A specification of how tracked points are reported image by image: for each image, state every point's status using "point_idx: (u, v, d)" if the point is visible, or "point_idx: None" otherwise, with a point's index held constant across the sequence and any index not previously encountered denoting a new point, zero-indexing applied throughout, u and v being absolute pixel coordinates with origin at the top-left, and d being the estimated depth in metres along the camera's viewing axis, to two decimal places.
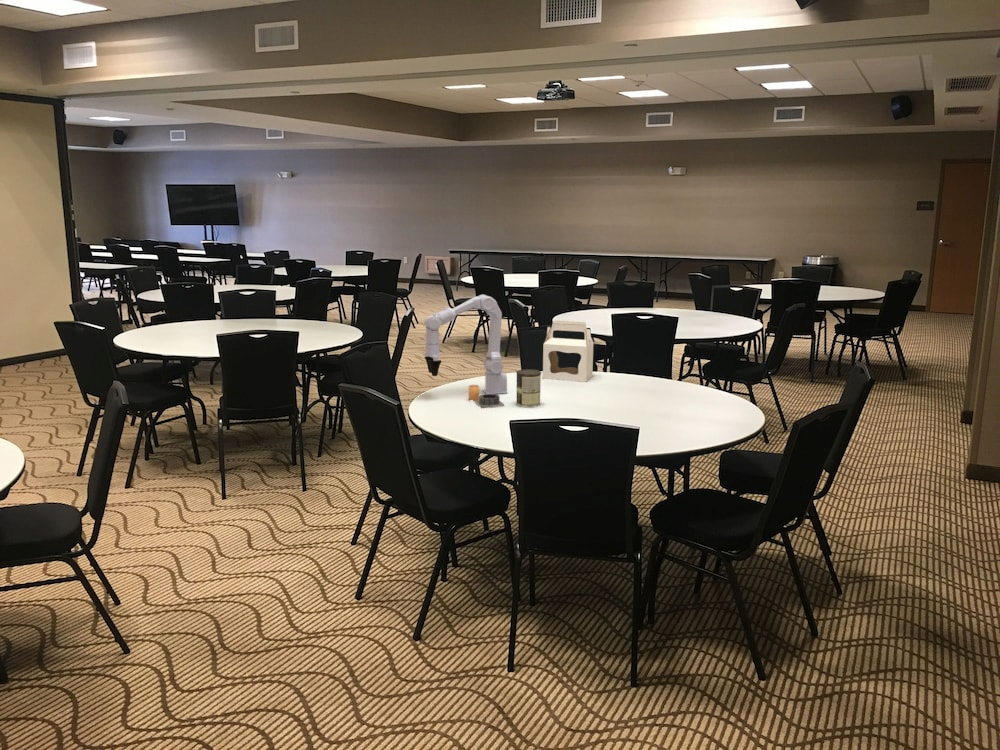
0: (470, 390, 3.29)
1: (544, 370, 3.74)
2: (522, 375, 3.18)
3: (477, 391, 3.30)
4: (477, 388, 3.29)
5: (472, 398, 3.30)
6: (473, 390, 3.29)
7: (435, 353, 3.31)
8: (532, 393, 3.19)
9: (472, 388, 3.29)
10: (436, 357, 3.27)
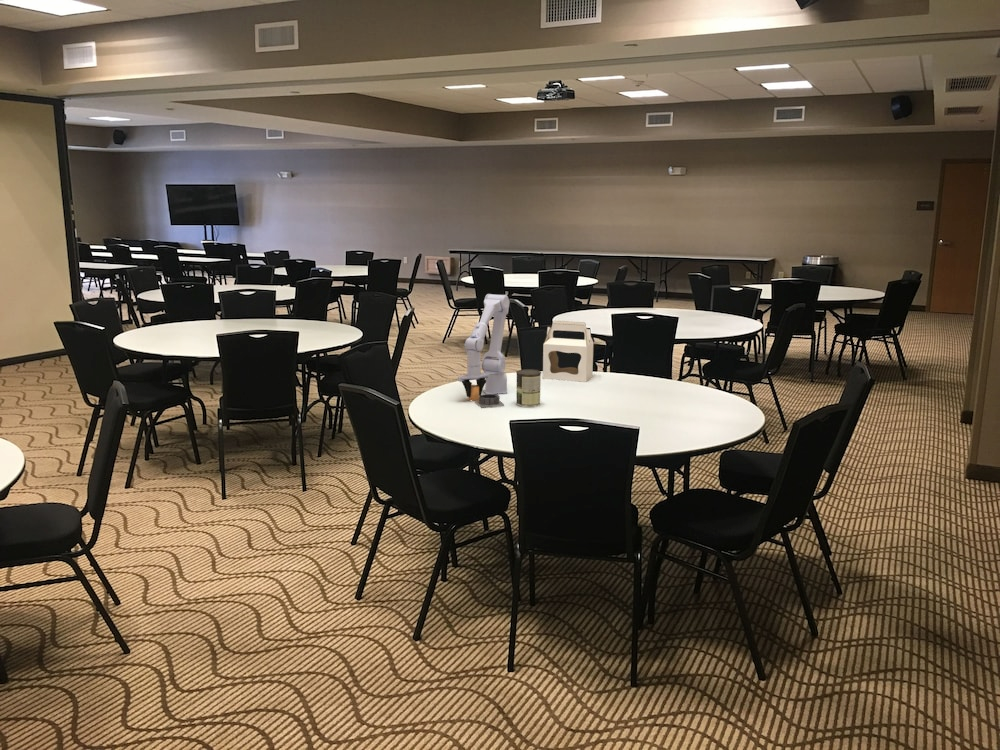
0: None
1: (544, 370, 3.74)
2: (522, 375, 3.18)
3: (477, 391, 3.30)
4: (477, 388, 3.29)
5: (472, 398, 3.30)
6: (473, 390, 3.29)
7: (469, 375, 3.28)
8: (532, 393, 3.19)
9: (472, 388, 3.29)
10: (459, 378, 3.26)
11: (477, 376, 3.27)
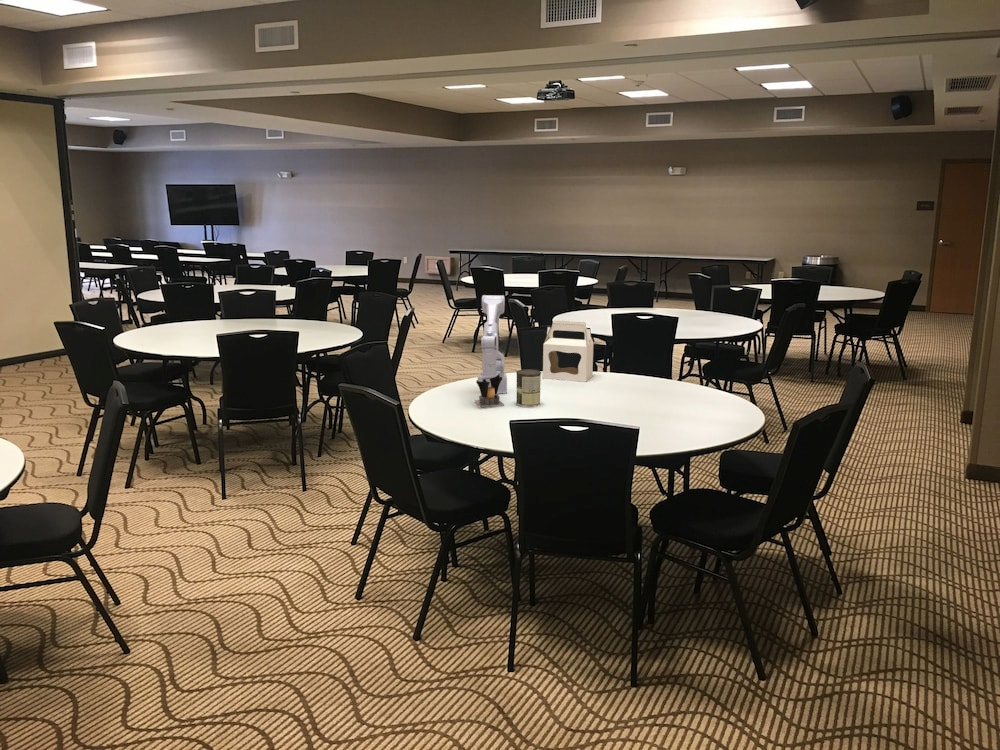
0: (487, 392, 3.21)
1: (544, 370, 3.74)
2: (522, 375, 3.18)
3: (494, 393, 3.22)
4: (494, 390, 3.22)
5: None
6: (491, 392, 3.21)
7: (487, 374, 3.18)
8: (532, 393, 3.19)
9: (490, 390, 3.20)
10: (479, 378, 3.15)
11: (495, 374, 3.20)
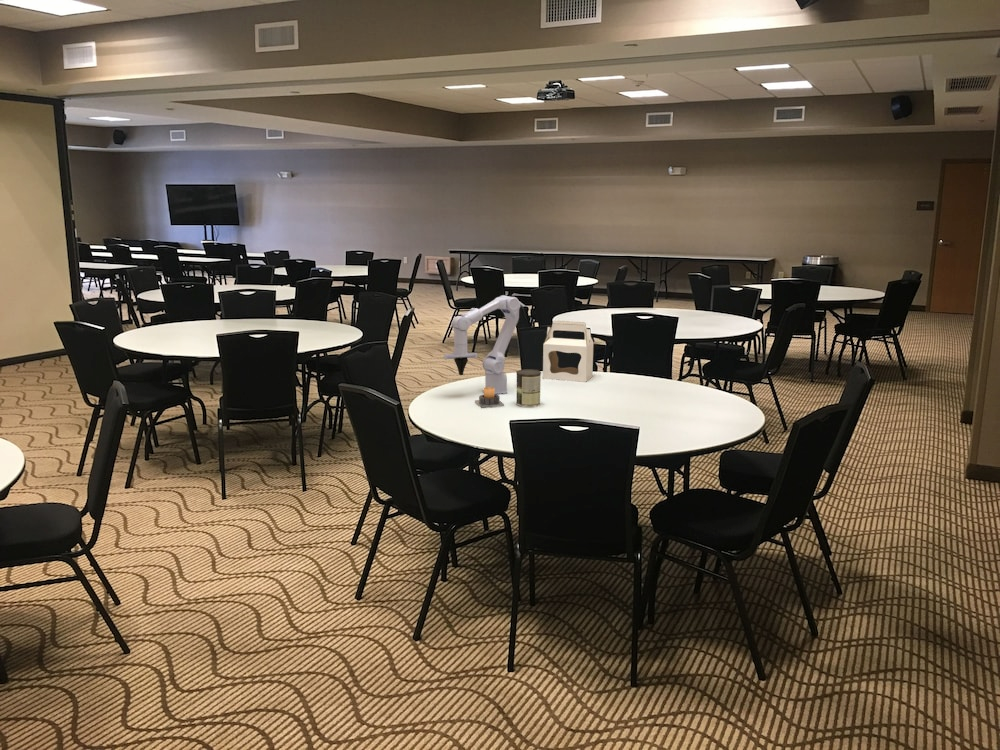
0: (487, 392, 3.21)
1: (544, 370, 3.74)
2: (522, 375, 3.18)
3: (494, 393, 3.22)
4: (494, 390, 3.22)
5: None
6: (491, 392, 3.21)
7: (455, 353, 3.32)
8: (532, 393, 3.19)
9: (490, 390, 3.20)
10: (444, 355, 3.31)
11: (462, 355, 3.31)
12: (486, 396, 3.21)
